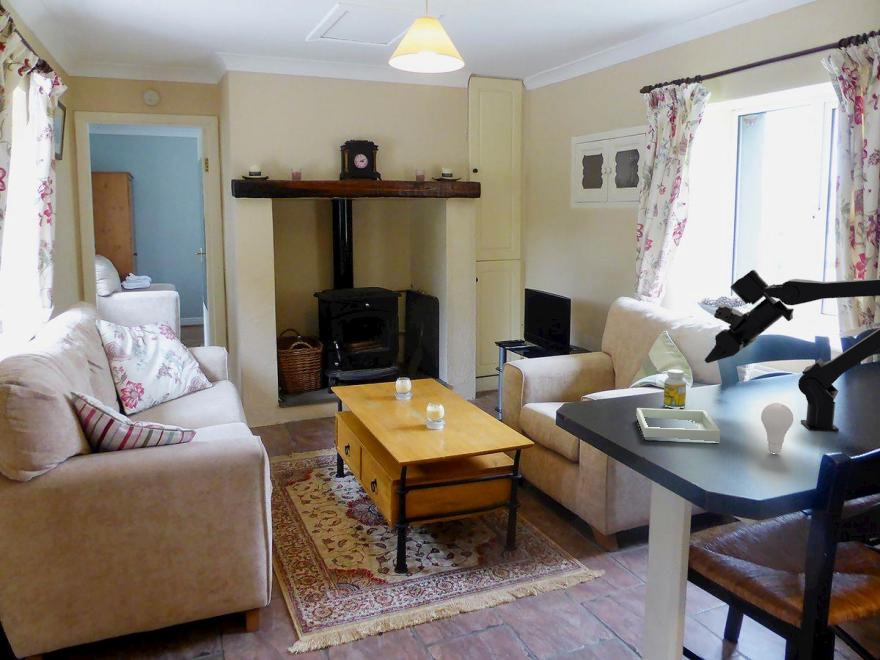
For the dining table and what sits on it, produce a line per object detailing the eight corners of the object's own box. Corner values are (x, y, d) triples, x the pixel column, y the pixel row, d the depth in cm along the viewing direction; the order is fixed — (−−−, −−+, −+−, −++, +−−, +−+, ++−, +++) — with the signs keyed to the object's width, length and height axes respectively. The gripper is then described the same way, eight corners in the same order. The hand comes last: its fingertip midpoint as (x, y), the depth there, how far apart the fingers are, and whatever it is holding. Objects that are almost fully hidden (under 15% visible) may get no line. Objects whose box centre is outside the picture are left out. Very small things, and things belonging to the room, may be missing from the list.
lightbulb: (794, 453, 151) (798, 403, 149) (785, 461, 146) (789, 409, 144) (764, 447, 155) (767, 398, 153) (754, 454, 150) (758, 404, 148)
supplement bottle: (689, 408, 184) (691, 372, 183) (673, 410, 182) (675, 374, 180) (674, 403, 189) (676, 367, 188) (658, 405, 187) (660, 370, 185)
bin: (719, 444, 157) (720, 430, 156) (644, 440, 159) (644, 427, 159) (704, 422, 172) (705, 410, 172) (636, 419, 175) (636, 408, 174)
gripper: (745, 290, 182) (699, 329, 190) (726, 298, 167) (677, 340, 175) (776, 322, 179) (728, 361, 187) (760, 334, 164) (709, 375, 172)
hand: (710, 358), depth 180 cm, fingers open, 9 cm apart
